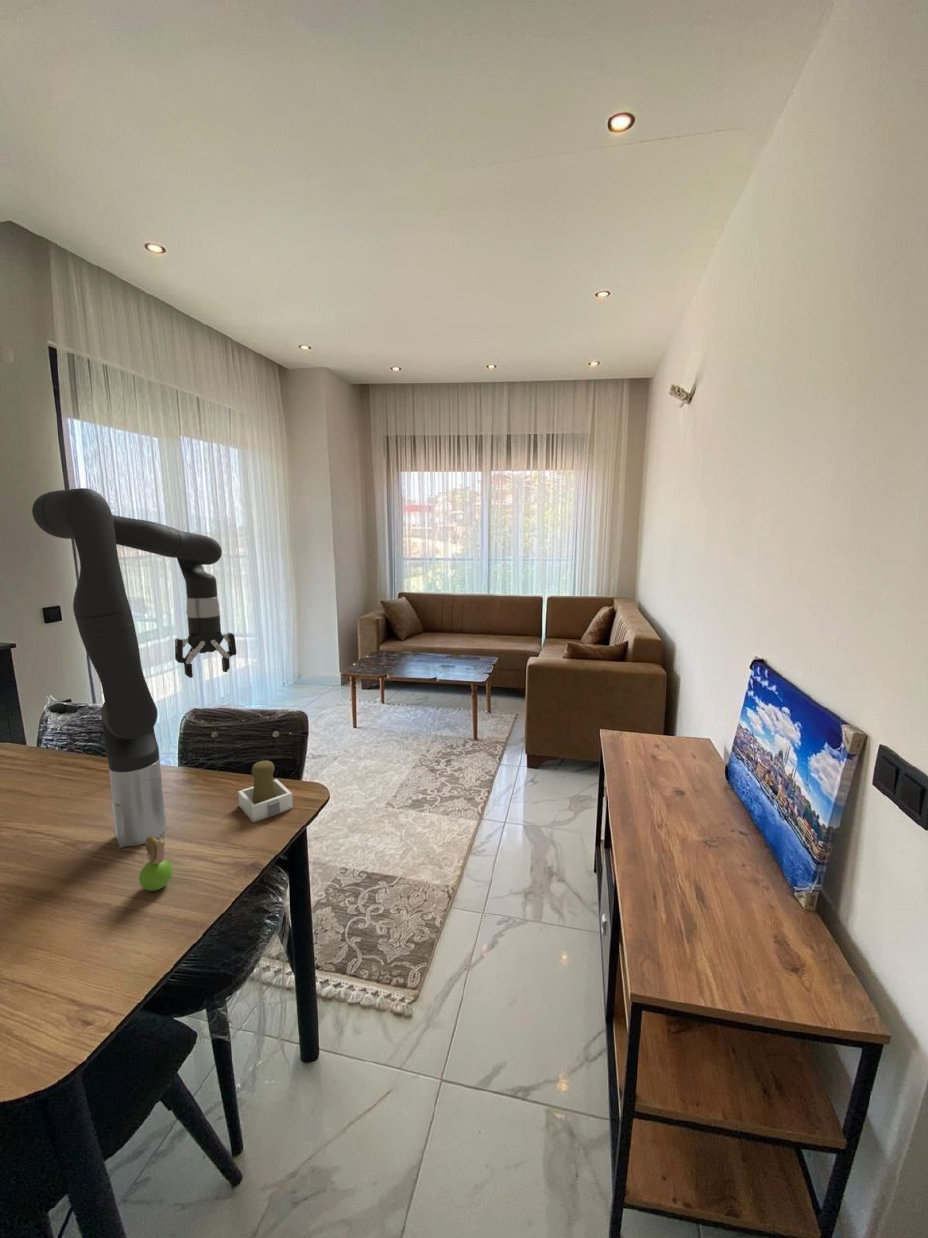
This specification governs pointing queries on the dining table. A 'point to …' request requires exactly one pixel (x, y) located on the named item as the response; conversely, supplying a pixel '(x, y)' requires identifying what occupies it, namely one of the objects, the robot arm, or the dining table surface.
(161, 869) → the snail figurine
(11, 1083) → the dining table surface
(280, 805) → the box
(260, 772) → the cork
